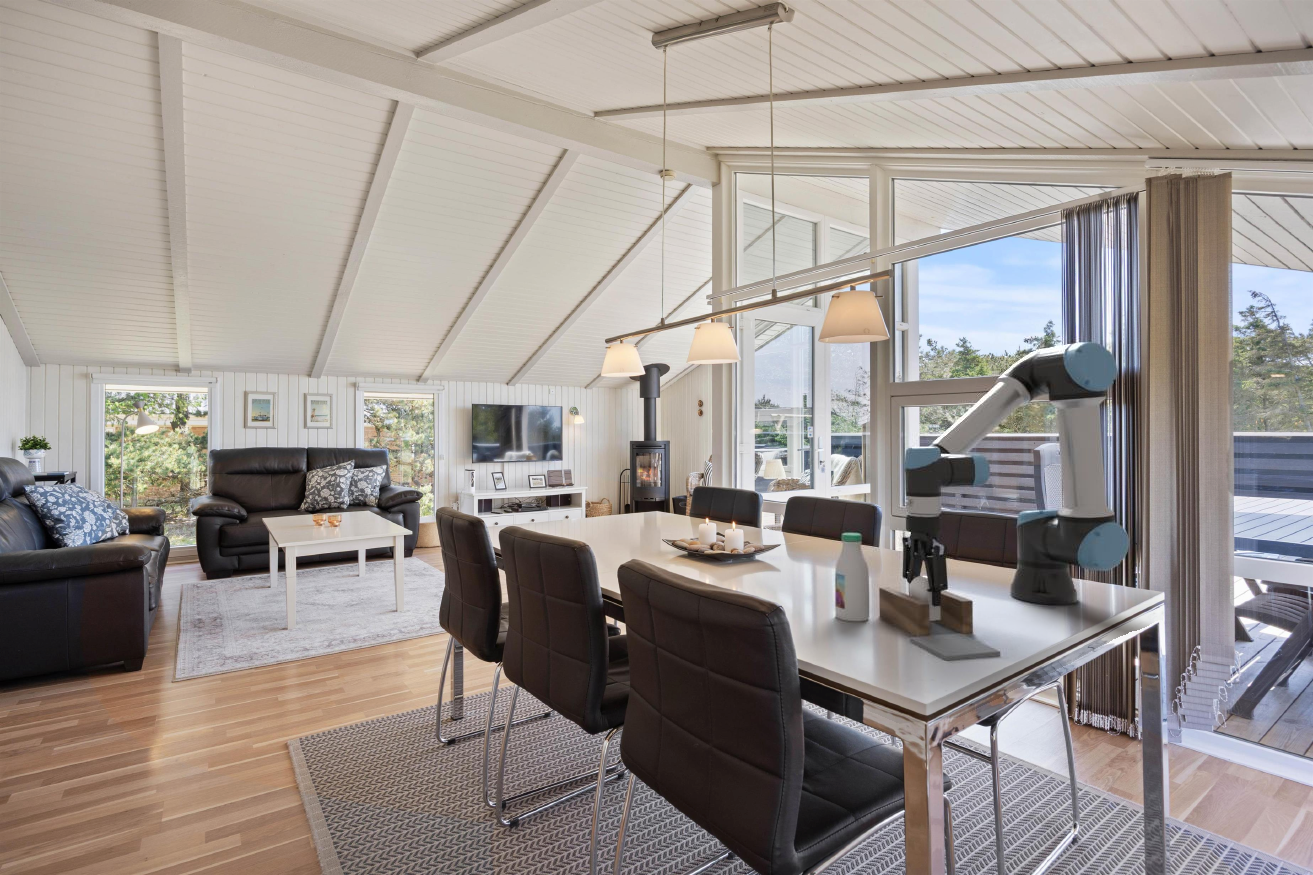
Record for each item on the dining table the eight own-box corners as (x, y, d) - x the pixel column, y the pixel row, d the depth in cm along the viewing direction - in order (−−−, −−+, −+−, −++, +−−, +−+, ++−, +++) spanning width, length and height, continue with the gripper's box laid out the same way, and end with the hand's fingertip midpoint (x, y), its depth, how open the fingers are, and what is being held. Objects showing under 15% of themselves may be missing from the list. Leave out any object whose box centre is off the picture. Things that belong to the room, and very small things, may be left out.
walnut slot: (928, 613, 160) (928, 584, 160) (972, 632, 144) (972, 600, 144) (879, 616, 157) (879, 587, 157) (919, 637, 142) (918, 604, 142)
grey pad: (960, 636, 141) (960, 633, 141) (1000, 655, 130) (1000, 651, 130) (909, 641, 139) (909, 637, 139) (945, 660, 127) (945, 656, 127)
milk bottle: (871, 615, 159) (870, 532, 159) (867, 623, 152) (866, 536, 152) (838, 612, 162) (837, 530, 162) (832, 620, 155) (832, 535, 155)
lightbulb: (942, 628, 147) (942, 579, 147) (912, 627, 148) (911, 578, 148) (936, 620, 153) (935, 573, 153) (907, 619, 155) (907, 572, 154)
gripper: (885, 510, 159) (886, 605, 160) (934, 520, 140) (935, 628, 141) (913, 509, 161) (914, 603, 161) (965, 518, 142) (967, 626, 142)
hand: (924, 615), depth 151 cm, fingers closed on lightbulb, 6 cm apart
